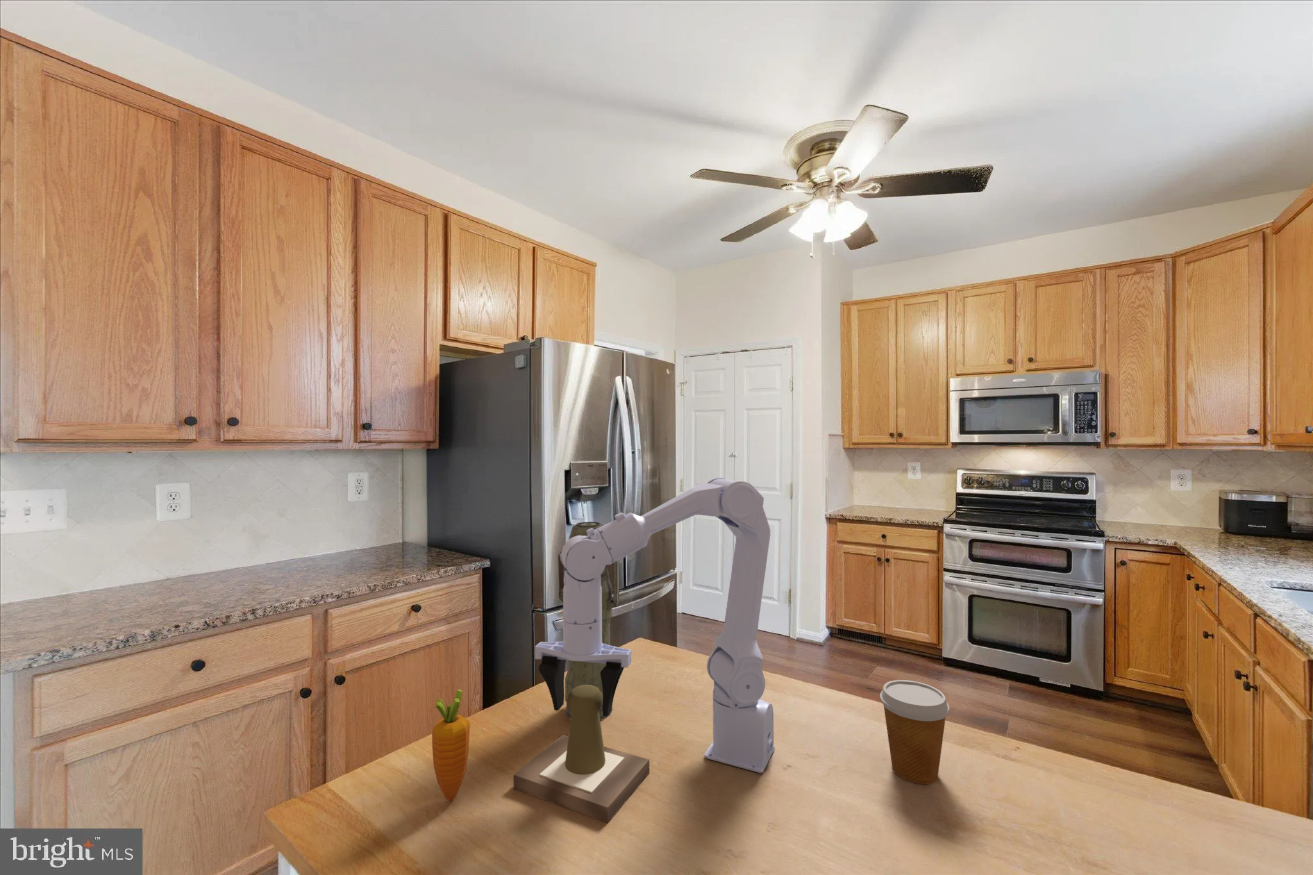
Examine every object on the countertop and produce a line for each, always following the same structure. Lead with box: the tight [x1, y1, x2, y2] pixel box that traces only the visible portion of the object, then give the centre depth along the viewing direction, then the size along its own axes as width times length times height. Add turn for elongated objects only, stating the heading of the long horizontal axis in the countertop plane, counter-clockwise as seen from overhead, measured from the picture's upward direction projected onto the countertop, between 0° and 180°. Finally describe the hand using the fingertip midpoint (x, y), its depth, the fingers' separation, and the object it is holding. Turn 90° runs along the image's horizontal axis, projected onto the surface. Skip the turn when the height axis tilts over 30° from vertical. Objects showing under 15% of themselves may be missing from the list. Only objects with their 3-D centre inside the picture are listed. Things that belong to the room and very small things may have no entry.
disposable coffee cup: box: [879, 679, 950, 785], centre depth 82 cm, size 10×10×12 cm
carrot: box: [431, 689, 471, 802], centre depth 75 cm, size 5×5×15 cm
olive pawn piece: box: [565, 685, 605, 775], centre depth 81 cm, size 6×6×11 cm
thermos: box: [557, 521, 620, 721], centre depth 101 cm, size 9×12×35 cm
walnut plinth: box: [513, 734, 650, 824], centre depth 80 cm, size 16×12×2 cm
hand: (582, 709), depth 80 cm, fingers open, 7 cm apart
